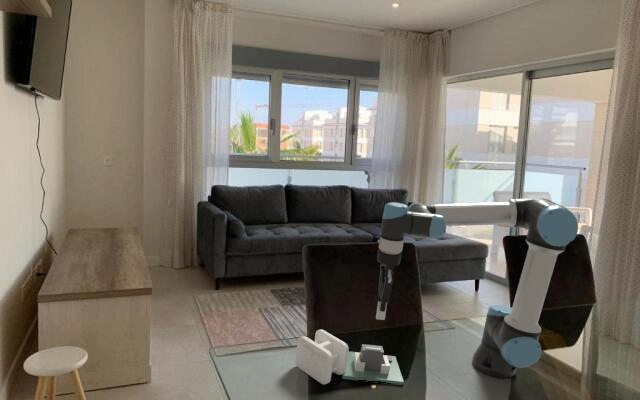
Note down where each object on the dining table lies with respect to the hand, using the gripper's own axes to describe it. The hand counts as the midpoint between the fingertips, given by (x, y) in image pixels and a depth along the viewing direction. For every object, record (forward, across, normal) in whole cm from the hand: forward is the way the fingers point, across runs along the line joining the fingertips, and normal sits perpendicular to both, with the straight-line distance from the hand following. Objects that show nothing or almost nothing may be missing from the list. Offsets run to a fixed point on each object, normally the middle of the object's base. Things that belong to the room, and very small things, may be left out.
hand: (380, 318), depth 163 cm
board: (+19, -1, -1) cm, 19 cm away
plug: (+18, 0, -1) cm, 18 cm away
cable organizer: (+19, +4, -18) cm, 27 cm away
